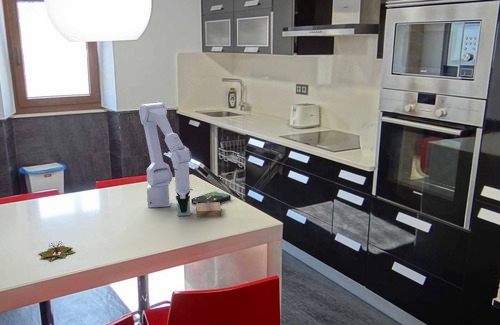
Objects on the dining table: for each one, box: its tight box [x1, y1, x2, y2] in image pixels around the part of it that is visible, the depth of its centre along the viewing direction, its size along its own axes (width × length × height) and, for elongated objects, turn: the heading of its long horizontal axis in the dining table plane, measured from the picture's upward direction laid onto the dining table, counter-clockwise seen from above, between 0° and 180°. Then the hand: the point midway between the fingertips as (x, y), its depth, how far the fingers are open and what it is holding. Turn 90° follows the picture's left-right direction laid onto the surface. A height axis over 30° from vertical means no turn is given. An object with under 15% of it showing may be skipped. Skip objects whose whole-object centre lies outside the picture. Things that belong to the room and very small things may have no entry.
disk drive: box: [190, 191, 232, 206], centre depth 202 cm, size 10×3×15 cm
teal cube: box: [176, 199, 191, 217], centre depth 187 cm, size 5×5×5 cm
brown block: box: [195, 202, 222, 218], centre depth 189 cm, size 10×10×3 cm
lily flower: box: [38, 240, 76, 262], centre depth 152 cm, size 12×12×5 cm
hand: (183, 210), depth 187 cm, fingers closed on teal cube, 5 cm apart
